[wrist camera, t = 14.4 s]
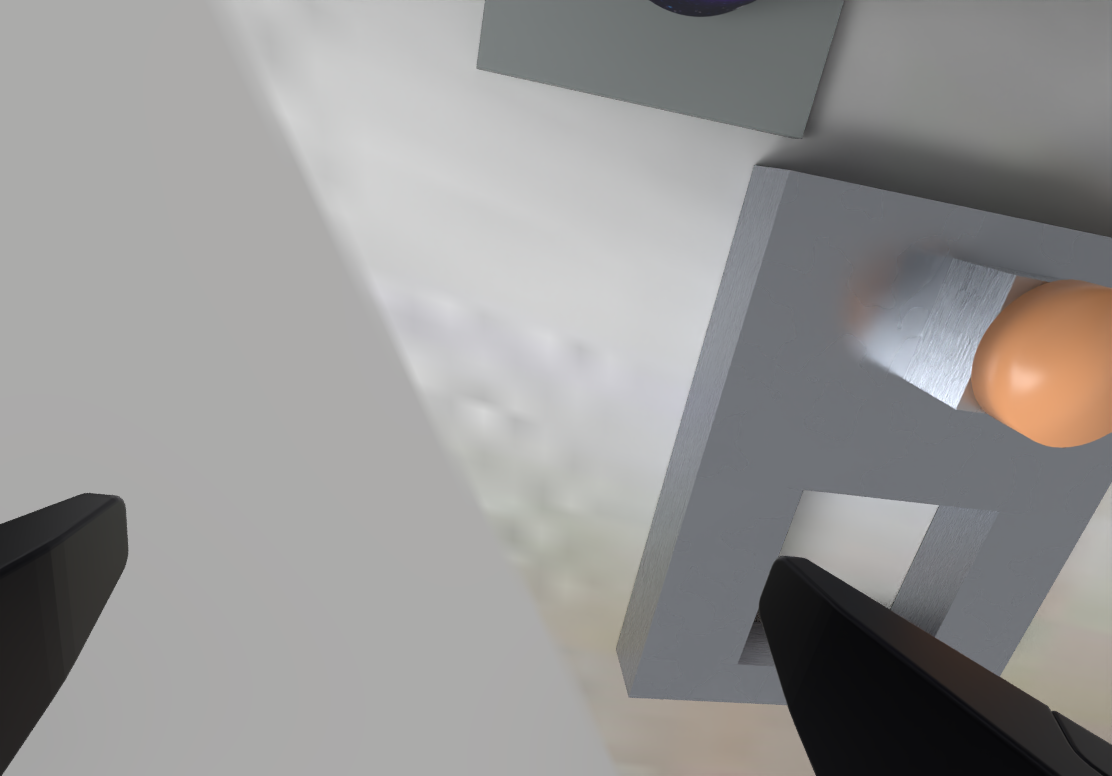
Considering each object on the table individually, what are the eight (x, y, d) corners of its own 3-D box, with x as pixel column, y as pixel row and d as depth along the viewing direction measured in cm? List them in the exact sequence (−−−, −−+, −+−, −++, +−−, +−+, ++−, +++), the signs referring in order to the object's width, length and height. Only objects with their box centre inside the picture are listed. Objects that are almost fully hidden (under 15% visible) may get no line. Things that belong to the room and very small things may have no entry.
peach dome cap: (1107, 283, 19) (1202, 306, 16) (1039, 416, 20) (1117, 456, 18) (980, 258, 18) (1060, 279, 16) (920, 398, 20) (984, 437, 17)
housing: (1161, 250, 23) (1332, 280, 18) (939, 669, 30) (1023, 767, 25) (754, 165, 20) (836, 176, 16) (616, 649, 27) (643, 755, 23)
